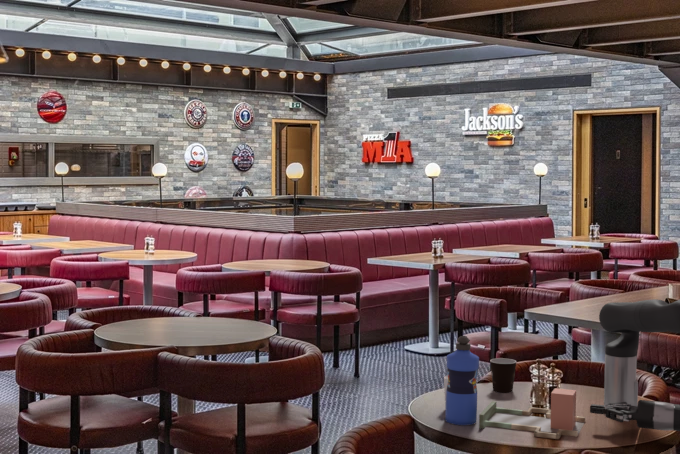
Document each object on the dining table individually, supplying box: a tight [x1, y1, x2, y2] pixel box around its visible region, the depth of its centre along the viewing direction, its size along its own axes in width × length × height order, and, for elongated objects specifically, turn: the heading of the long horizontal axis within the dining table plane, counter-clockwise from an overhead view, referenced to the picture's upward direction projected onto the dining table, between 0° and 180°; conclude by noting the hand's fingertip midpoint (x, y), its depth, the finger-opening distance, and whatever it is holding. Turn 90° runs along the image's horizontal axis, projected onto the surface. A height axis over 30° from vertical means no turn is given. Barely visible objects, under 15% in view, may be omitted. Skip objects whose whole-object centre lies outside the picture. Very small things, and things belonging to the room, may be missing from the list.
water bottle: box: [444, 335, 480, 426], centre depth 258 cm, size 9×9×25 cm
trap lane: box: [478, 400, 586, 440], centre depth 253 cm, size 27×25×4 cm
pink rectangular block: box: [550, 387, 577, 430], centre depth 249 cm, size 6×6×10 cm
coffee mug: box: [489, 357, 517, 394], centre depth 295 cm, size 12×9×10 cm
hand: (590, 408), depth 246 cm, fingers closed
